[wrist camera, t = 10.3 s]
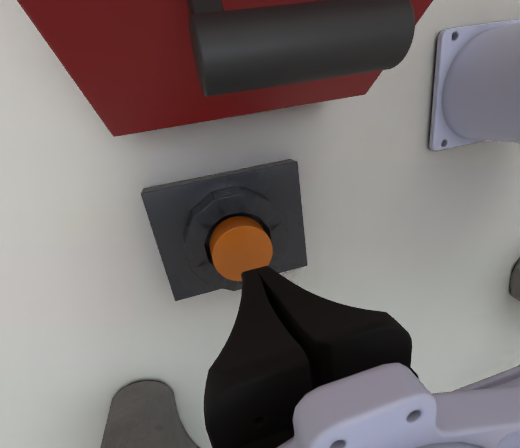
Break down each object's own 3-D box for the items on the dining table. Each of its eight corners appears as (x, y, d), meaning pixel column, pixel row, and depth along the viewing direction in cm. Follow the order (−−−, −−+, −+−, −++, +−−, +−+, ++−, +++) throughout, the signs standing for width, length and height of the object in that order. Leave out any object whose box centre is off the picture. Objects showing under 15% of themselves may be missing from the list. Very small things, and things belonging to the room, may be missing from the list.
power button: (261, 209, 18) (268, 219, 16) (268, 259, 20) (276, 272, 18) (203, 222, 17) (205, 234, 16) (215, 273, 19) (219, 288, 17)
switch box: (291, 158, 20) (308, 166, 17) (301, 258, 23) (317, 277, 21) (142, 188, 18) (136, 201, 16) (175, 292, 22) (174, 317, 19)
